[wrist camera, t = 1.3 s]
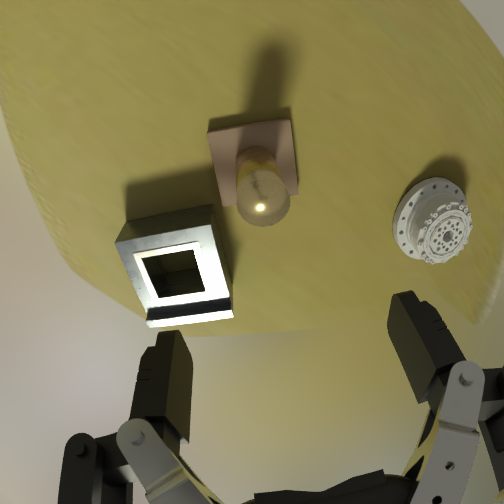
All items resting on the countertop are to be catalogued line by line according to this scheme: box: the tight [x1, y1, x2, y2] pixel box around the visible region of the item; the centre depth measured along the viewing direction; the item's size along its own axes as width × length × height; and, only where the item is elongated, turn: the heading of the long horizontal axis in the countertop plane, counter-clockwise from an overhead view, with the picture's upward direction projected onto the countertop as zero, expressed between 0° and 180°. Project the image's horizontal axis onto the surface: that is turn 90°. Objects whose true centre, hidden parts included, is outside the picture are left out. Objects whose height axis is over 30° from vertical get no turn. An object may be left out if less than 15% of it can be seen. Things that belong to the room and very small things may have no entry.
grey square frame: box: [115, 204, 233, 328], centre depth 31 cm, size 10×9×5 cm
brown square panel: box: [207, 118, 299, 207], centre depth 27 cm, size 7×7×1 cm
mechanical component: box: [393, 177, 473, 264], centre depth 30 cm, size 10×4×10 cm
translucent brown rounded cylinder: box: [235, 146, 290, 227], centre depth 24 cm, size 3×3×8 cm
